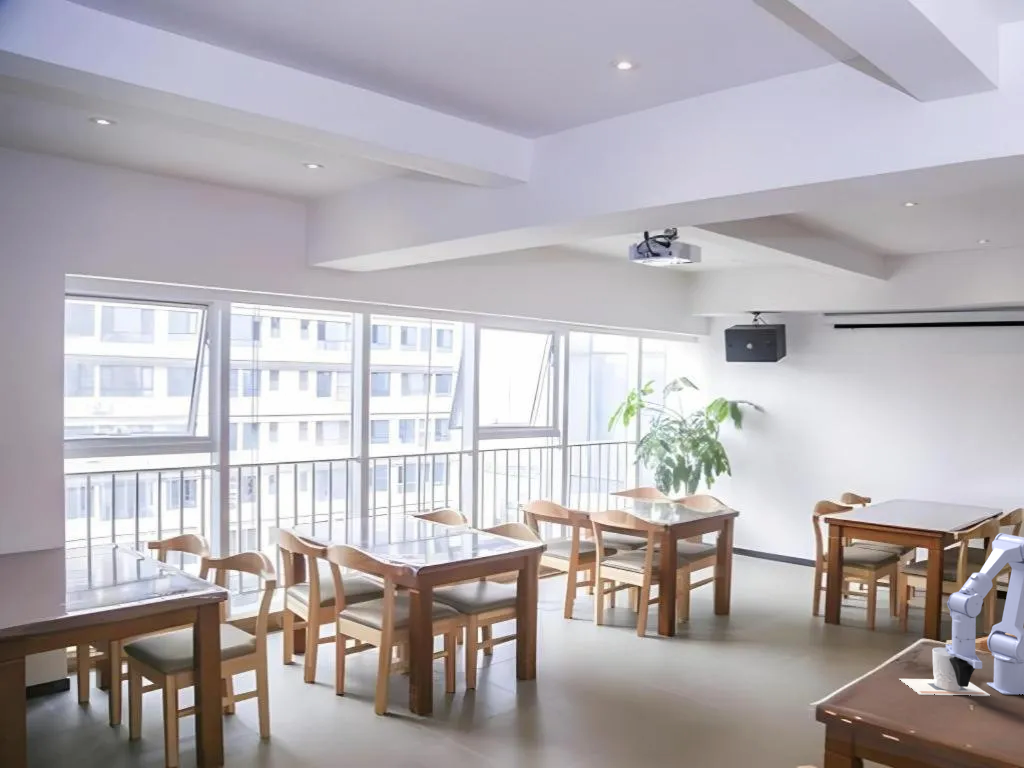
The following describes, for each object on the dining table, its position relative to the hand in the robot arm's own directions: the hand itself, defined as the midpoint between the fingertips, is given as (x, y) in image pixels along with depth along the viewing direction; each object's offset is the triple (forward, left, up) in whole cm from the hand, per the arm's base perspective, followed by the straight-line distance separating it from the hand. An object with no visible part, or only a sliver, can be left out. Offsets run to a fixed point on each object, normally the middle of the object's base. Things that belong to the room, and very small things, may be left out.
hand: (962, 685), depth 224 cm
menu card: (+1, -8, -3) cm, 9 cm away
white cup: (0, -8, -3) cm, 9 cm away
